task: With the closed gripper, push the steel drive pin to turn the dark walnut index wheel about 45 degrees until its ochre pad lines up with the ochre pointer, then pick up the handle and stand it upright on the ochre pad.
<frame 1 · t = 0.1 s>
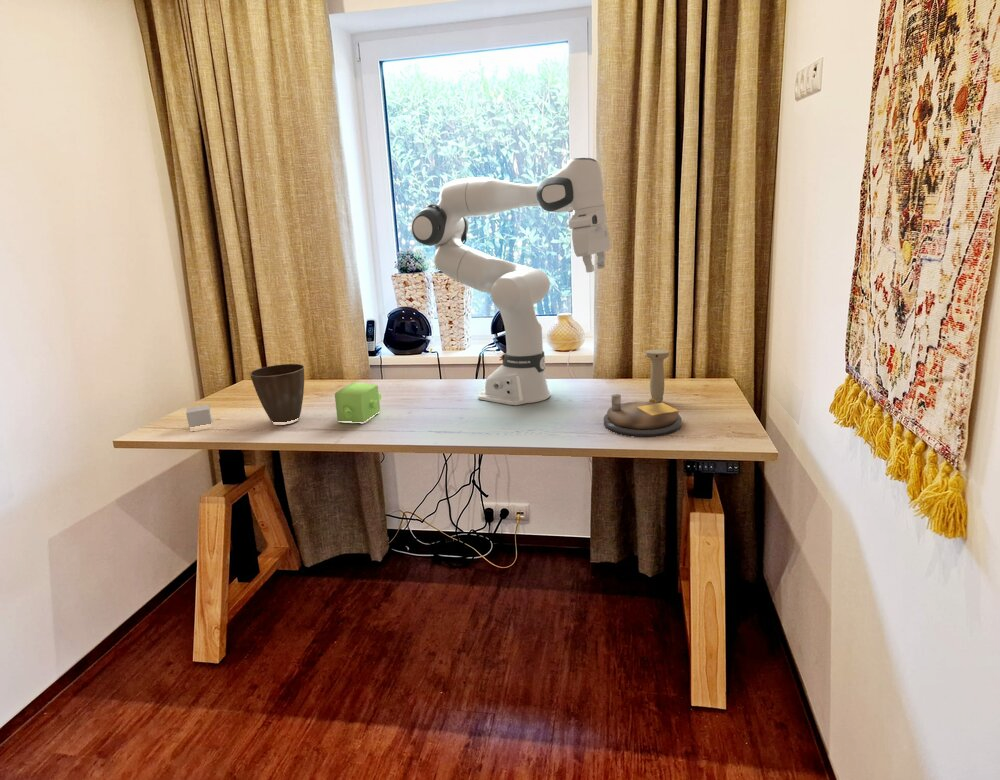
hand: (595, 270, 173), 39 cm above the table, tool pointing down, fingers open, 8 cm apart
wheel base: (642, 423, 164), on the table
index wheel: (642, 407, 163), point 5 cm above the table, hinge at 0.0°
handle: (657, 402, 181), on the table
grey cube: (201, 428, 185), on the table
plant pot: (286, 422, 185), on the table
gearbox: (361, 420, 183), on the table
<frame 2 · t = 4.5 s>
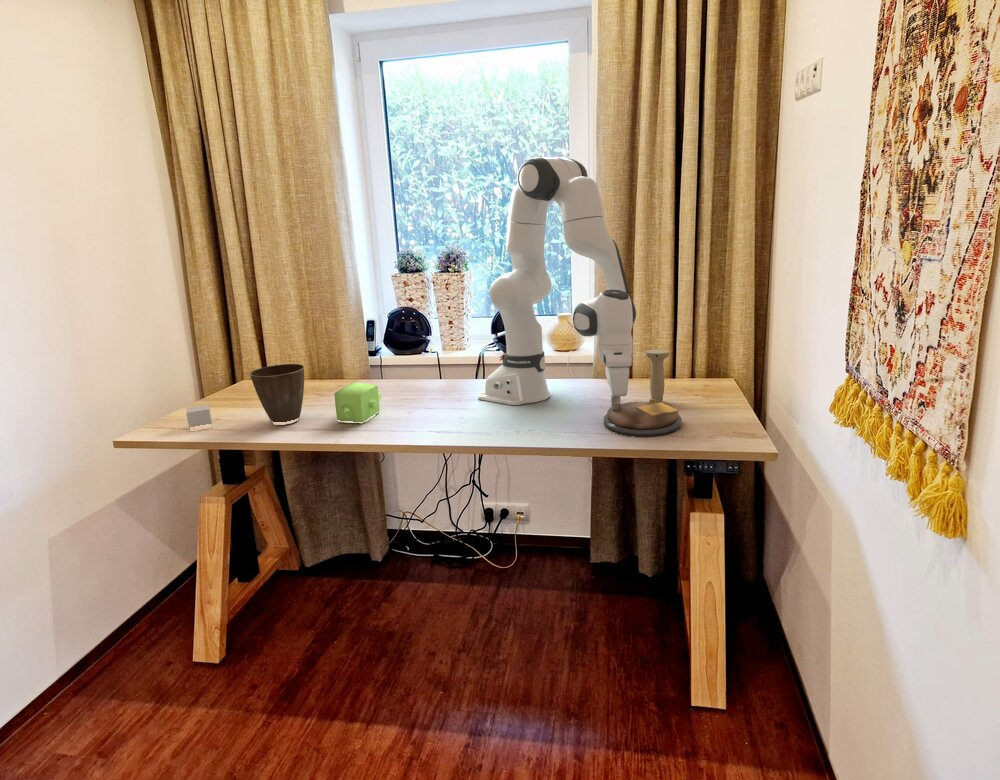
hand: (615, 402, 168), 5 cm above the table, tool pointing down, fingers closed, pressing on index wheel
index wheel: (642, 407, 163), point 5 cm above the table, hinge at 2.0°, touching gripper
everything else where it was.
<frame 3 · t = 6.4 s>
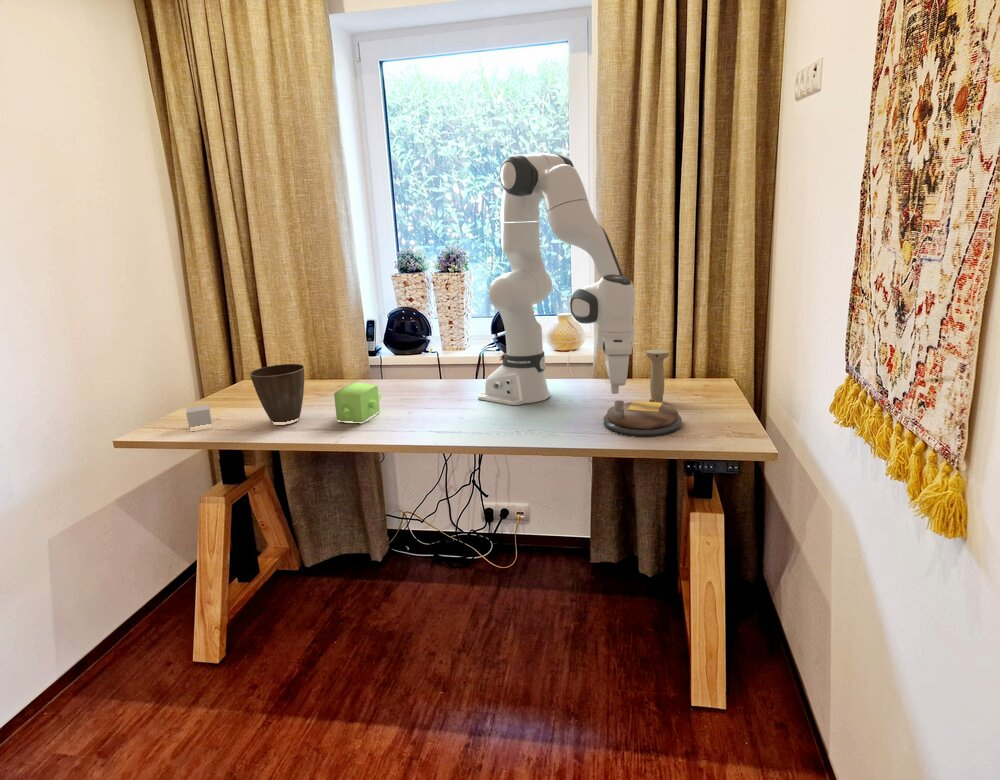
hand: (614, 392, 162), 9 cm above the table, tool pointing down, fingers closed
index wheel: (642, 407, 163), point 5 cm above the table, hinge at 50.2°
everything else where it was.
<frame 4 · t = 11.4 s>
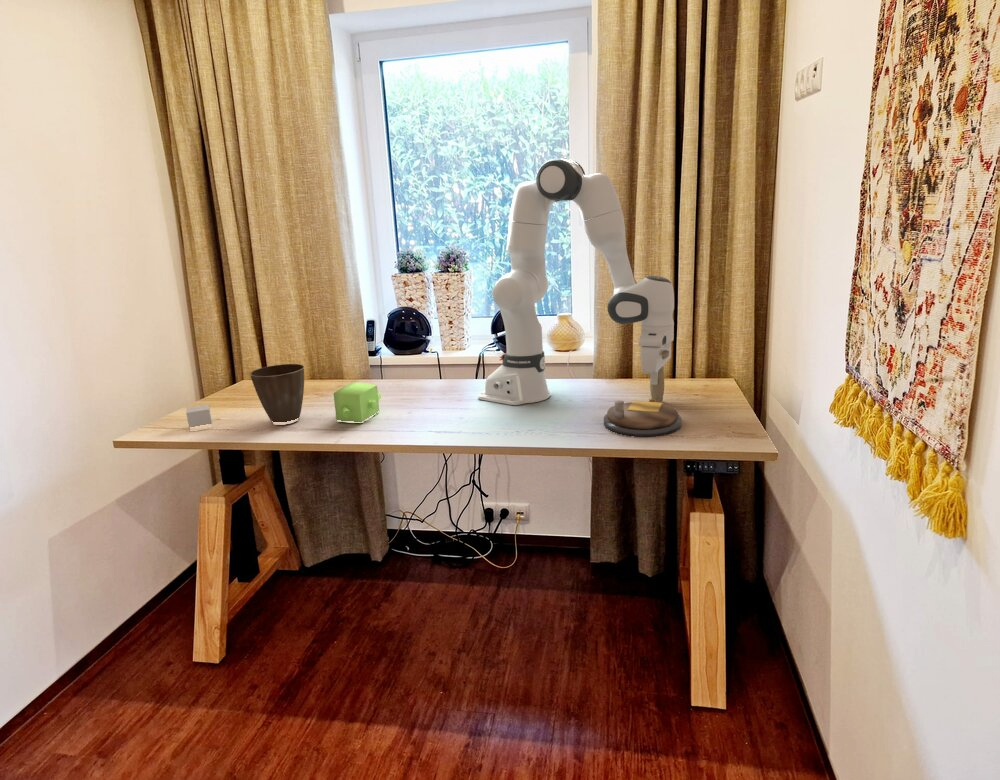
hand: (657, 381, 179), 6 cm above the table, tool pointing down, fingers closed on handle, 4 cm apart
handle: (657, 402, 181), on the table, touching gripper
everything else where it was.
when the fingers open (11 cm above the table, at t = 18.5 s): handle stays where it is, resting on index wheel.
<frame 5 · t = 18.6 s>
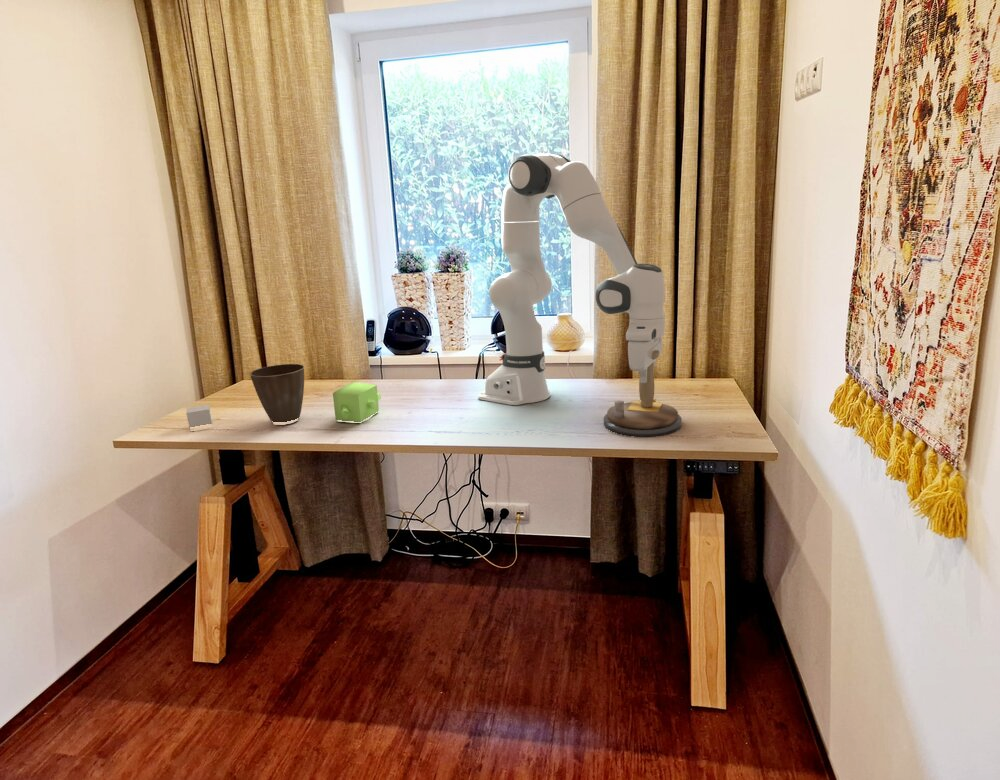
hand: (646, 379, 165), 11 cm above the table, tool pointing down, fingers open, 4 cm apart
index wheel: (642, 407, 163), point 5 cm above the table, hinge at 50.1°, touching handle
handle: (646, 406, 167), point 3 cm above the table, touching index wheel
everything else where it was.
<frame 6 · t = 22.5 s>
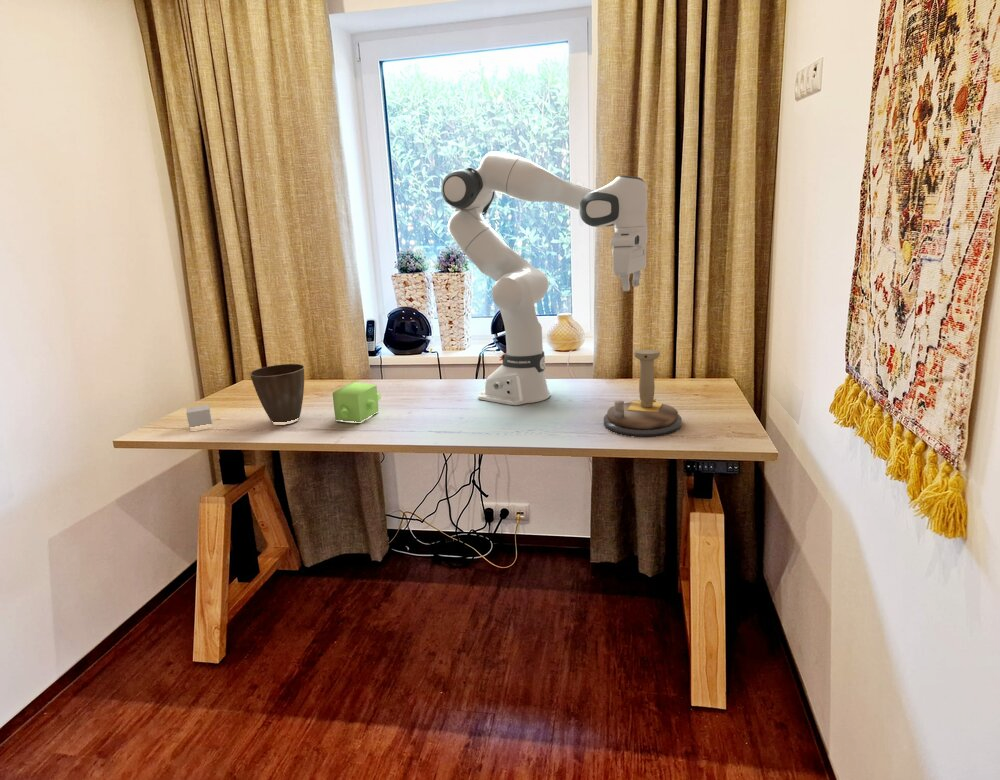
hand: (631, 288, 174), 33 cm above the table, tool pointing down, fingers open, 8 cm apart
nothing on the table moved.
at the end: index wheel at +50° (first picture: +0°); handle 0.1 cm from the target spot, point 3.3 cm above the table; handle tilted 0° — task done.
